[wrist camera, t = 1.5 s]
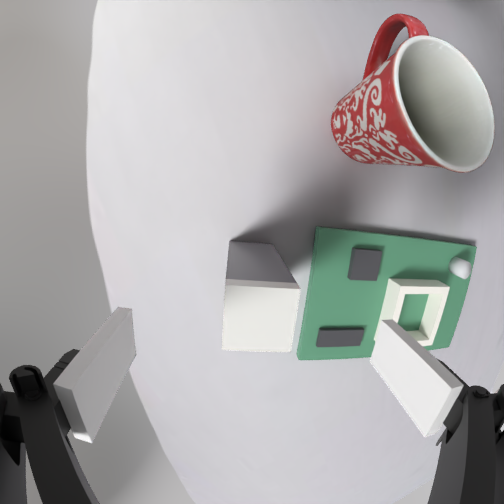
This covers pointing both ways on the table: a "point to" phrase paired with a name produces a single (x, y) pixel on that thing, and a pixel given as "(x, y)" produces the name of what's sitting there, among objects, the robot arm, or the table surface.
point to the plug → (258, 300)
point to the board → (381, 291)
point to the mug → (416, 105)
